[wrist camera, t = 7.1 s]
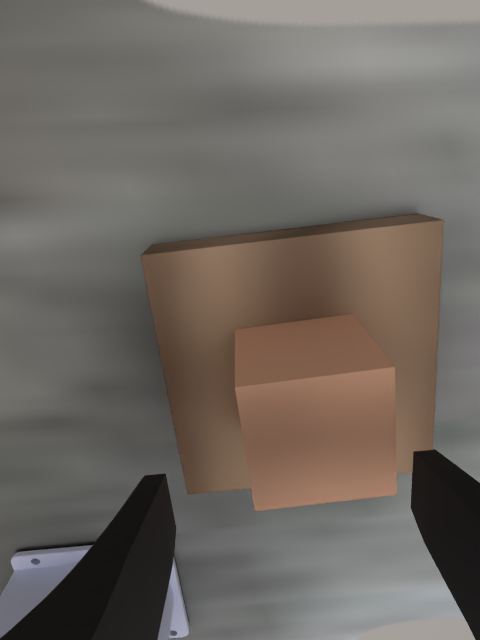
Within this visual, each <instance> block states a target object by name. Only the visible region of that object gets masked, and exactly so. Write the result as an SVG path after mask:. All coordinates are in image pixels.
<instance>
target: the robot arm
mask: <svg viewBox="0 0 480 640" xmlns="http://www.w3.org/2000/svg"><path fill="white" fill-rule="evenodd" d="M411 509H412V512H413V515H414V517H415V520H416V523H417V525H418V528H419V530H420V533H421V535H422V538H423V540H424V542H425V545H426V546H427V548H428V550H429V552H430V554H431V556H432V558H433V560H434V562H435V564H436V566H437V567H438V569H439V571H440V573H441V575H442V577H443V579H444V580H445V582H446V584H447V586H448V588H449V590H450V592H451V594H452V595H453V597H454V599H455V601H456V603H457V605H458V607H459V608H460V610H461V612H462V614H463V616H464V618H465V619H466V621H467V623H468V625H469V627H470V629H471V631H472V633H473V635H474V637H475V639H476V640H480V483H479V482H478V481H476V480H475V479H474V478H472V477H471V476H470V475H468V474H467V473H466V472H464V471H463V470H462V469H460V468H459V467H458V466H456V465H455V464H454V463H452V462H451V461H450V460H448V459H447V458H446V457H444V456H443V455H442V454H440V453H439V452H438V451H436V450H425V451H413V472H412V494H411ZM175 536H176V525H175V520H174V515H173V509H172V504H171V499H170V494H169V489H168V484H167V479H166V474H157V475H145V476H144V477H143V478H142V479H141V481H140V482H139V484H138V485H137V487H136V488H135V489H134V491H133V492H132V494H131V495H130V497H129V498H128V499H127V501H126V502H125V504H124V505H123V506H122V508H121V509H120V511H119V512H118V513H117V515H116V516H115V517H114V519H113V520H112V521H111V523H110V524H109V525H108V527H107V528H106V529H105V531H104V532H103V533H102V534H101V536H100V537H99V538H98V539H97V541H96V542H95V543H94V544H93V545H88V546H77V547H66V548H55V549H44V550H33V551H22V552H17V553H15V554H14V555H13V557H12V559H11V564H12V567H13V569H14V572H13V574H12V576H11V578H10V579H9V581H8V583H7V585H6V587H5V588H4V590H3V592H2V594H1V596H0V640H169V638H180V637H185V636H187V635H188V633H189V623H188V618H187V614H186V609H185V605H184V600H183V596H182V591H181V586H180V582H179V577H178V573H177V568H176V563H175V559H174V548H175Z"/></svg>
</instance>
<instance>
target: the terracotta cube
mask: <svg viewBox="0 0 480 640" xmlns="http://www.w3.org/2000/svg"><path fill="white" fill-rule="evenodd" d="M235 392H236V398H237V404H238V410H239V417H240V423H241V429H242V435H243V441H244V447H245V453H246V459H247V466H248V472H249V478H250V484H251V490H252V496H253V502H254V509H255V511H261V510H269V509H278V508H287V507H295V506H304V505H312V504H321V503H329V502H338V501H347V500H355V499H364V498H372V497H381V496H389V495H397V472H396V407H395V367H394V365H393V364H392V363H391V361H390V360H389V359H388V358H387V356H386V355H385V354H384V353H383V351H382V350H381V349H380V347H379V346H378V345H377V344H376V342H375V341H374V340H373V339H372V337H371V336H370V335H369V334H368V332H367V331H366V330H365V328H364V327H363V326H362V325H361V323H360V322H359V321H358V320H357V318H356V317H355V316H354V315H353V314H347V315H340V316H332V317H325V318H317V319H310V320H302V321H295V322H287V323H280V324H272V325H265V326H257V327H250V328H242V329H235Z"/></svg>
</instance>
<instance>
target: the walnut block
mask: <svg viewBox="0 0 480 640" xmlns="http://www.w3.org/2000/svg"><path fill="white" fill-rule="evenodd" d="M443 223H444V220H442V219H438V218H434V217H430V216H426V215H422V214H411V215H402V216H394V217H385V218H377V219H368V220H360V221H351V222H343V223H334V224H326V225H317V226H309V227H300V228H292V229H283V230H275V231H266V232H258V233H249V234H241V235H232V236H224V237H215V238H207V239H198V240H190V241H181V242H173V243H164V244H156V245H151V246H150V247H149V248H148V249H147V250H146V251H145V252H144V253H143V254H142V255H140V256H141V261H142V266H143V271H144V276H145V281H146V286H147V291H148V296H149V301H150V306H151V311H152V317H153V322H154V327H155V332H156V337H157V342H158V347H159V352H160V357H161V362H162V367H163V372H164V377H165V383H166V388H167V393H168V398H169V403H170V408H171V413H172V418H173V423H174V428H175V433H176V438H177V443H178V449H179V454H180V459H181V464H182V469H183V474H184V479H185V484H186V489H187V494H197V493H207V492H217V491H227V490H237V489H247V488H251V484H250V478H249V472H248V466H247V459H246V453H245V447H244V441H243V435H242V429H241V423H240V417H239V410H238V404H237V398H236V392H235V329H242V328H250V327H257V326H265V325H272V324H280V323H287V322H295V321H302V320H310V319H317V318H325V317H332V316H340V315H347V314H353V315H354V316H355V317H356V318H357V320H358V321H359V322H360V323H361V325H362V326H363V327H364V328H365V330H366V331H367V332H368V334H369V335H370V336H371V337H372V339H373V340H374V341H375V342H376V344H377V345H378V346H379V347H380V349H381V350H382V351H383V353H384V354H385V355H386V356H387V358H388V359H389V360H390V361H391V363H392V364H393V365H394V367H395V407H396V472H397V474H399V473H409V472H413V451H425V450H433V433H434V412H435V391H436V370H437V349H438V328H439V307H440V286H441V265H442V244H443Z"/></svg>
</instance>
